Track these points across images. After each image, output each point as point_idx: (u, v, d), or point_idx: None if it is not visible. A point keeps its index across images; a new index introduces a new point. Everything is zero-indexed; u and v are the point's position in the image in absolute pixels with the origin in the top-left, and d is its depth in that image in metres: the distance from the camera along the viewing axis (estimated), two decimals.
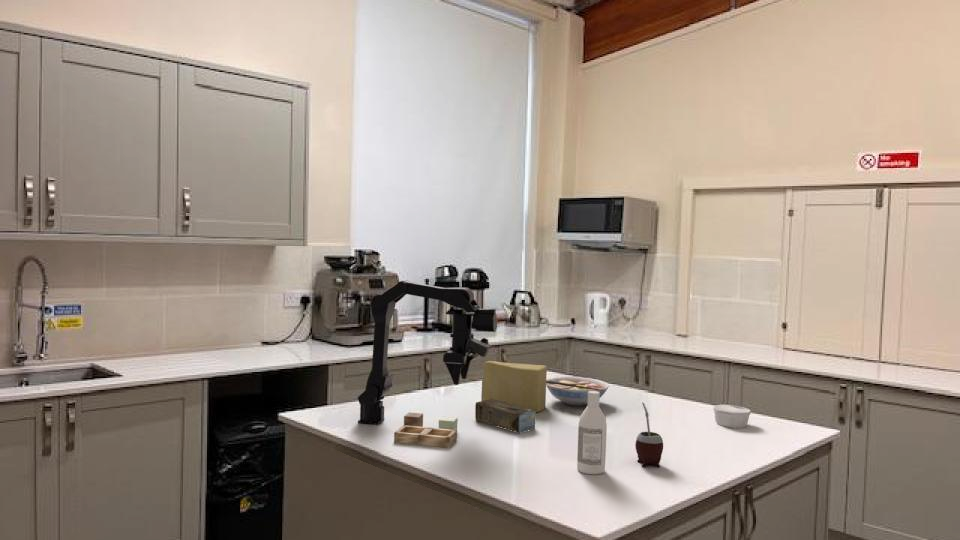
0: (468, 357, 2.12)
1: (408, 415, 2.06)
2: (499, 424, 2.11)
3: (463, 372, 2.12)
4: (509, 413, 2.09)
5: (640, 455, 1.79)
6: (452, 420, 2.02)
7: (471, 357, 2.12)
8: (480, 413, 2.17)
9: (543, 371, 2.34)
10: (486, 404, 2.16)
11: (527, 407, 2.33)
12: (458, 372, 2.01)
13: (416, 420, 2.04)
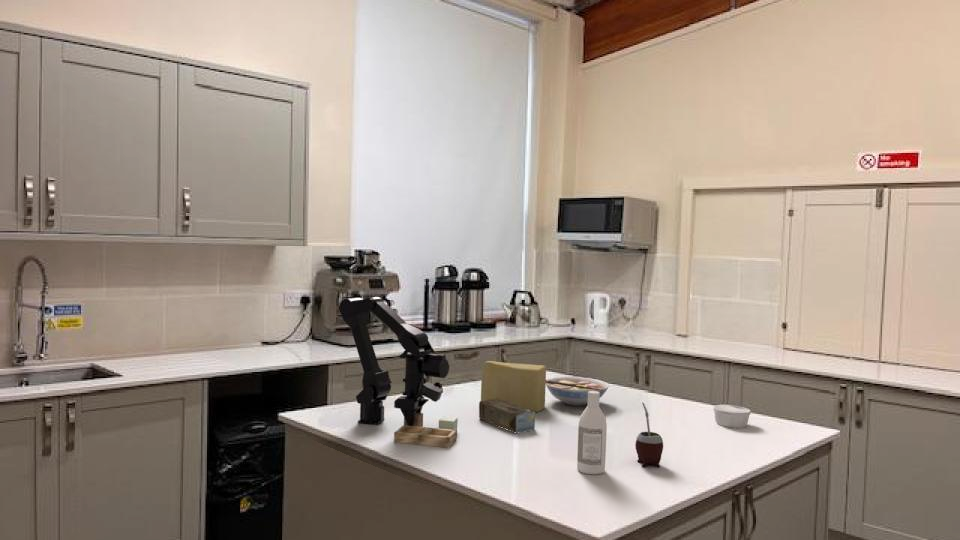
0: (420, 402, 2.09)
1: None
2: (499, 423, 2.12)
3: None
4: (507, 413, 2.09)
5: (640, 455, 1.79)
6: (452, 420, 2.02)
7: (423, 402, 2.09)
8: (483, 412, 2.18)
9: (542, 371, 2.34)
10: (488, 403, 2.18)
11: (526, 407, 2.33)
12: (412, 416, 2.03)
13: (416, 419, 2.04)
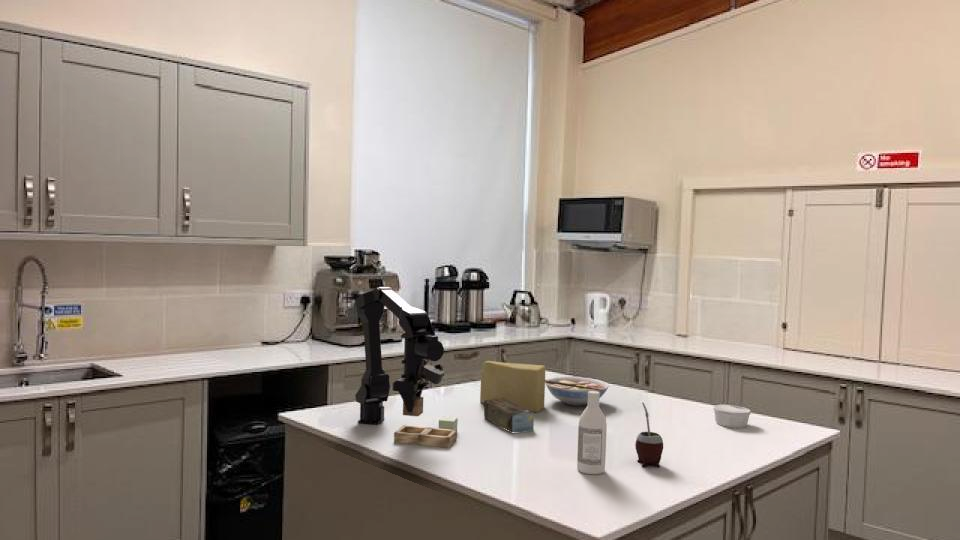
0: (420, 385, 1.99)
1: None
2: (499, 423, 2.13)
3: None
4: (506, 412, 2.09)
5: (640, 455, 1.79)
6: (452, 420, 2.02)
7: (423, 385, 1.98)
8: (487, 411, 2.20)
9: (542, 371, 2.34)
10: (492, 402, 2.19)
11: (526, 407, 2.33)
12: (411, 399, 1.92)
13: (416, 403, 1.94)
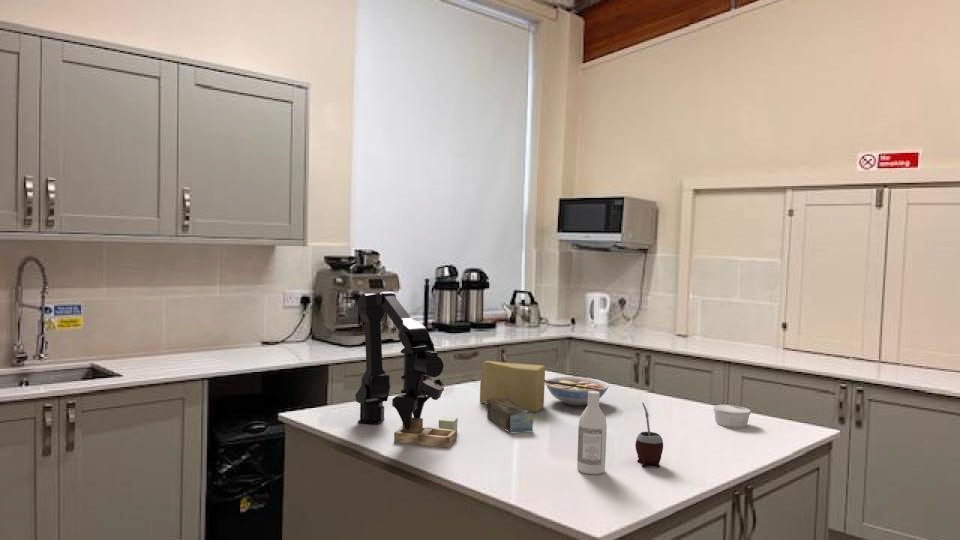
0: (421, 399, 2.01)
1: None
2: (499, 422, 2.13)
3: (416, 415, 2.00)
4: (505, 412, 2.09)
5: (640, 455, 1.79)
6: (452, 420, 2.02)
7: (424, 399, 2.00)
8: (489, 410, 2.21)
9: (541, 371, 2.34)
10: (494, 402, 2.19)
11: (525, 407, 2.33)
12: (409, 416, 1.91)
13: (416, 425, 1.94)
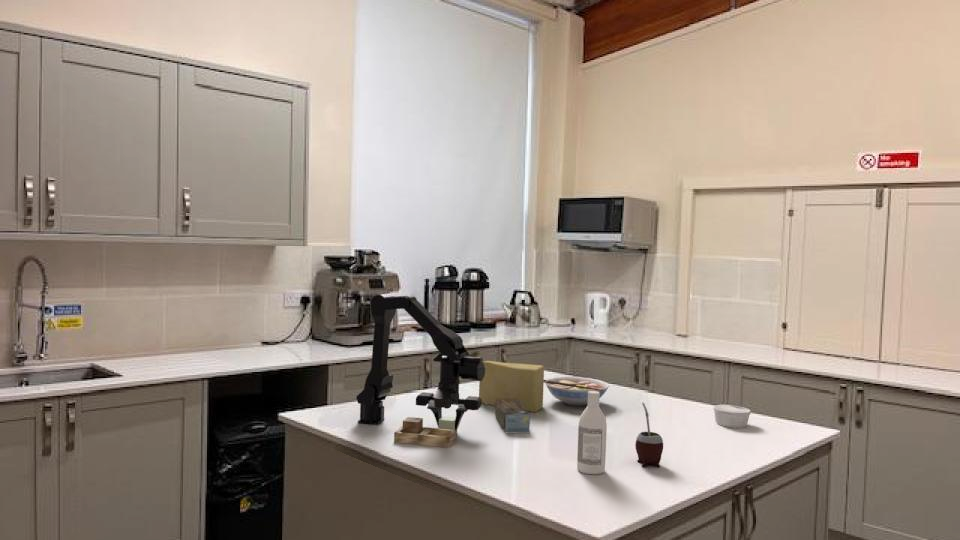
0: None
1: (407, 420, 1.95)
2: (500, 422, 2.14)
3: None
4: (503, 412, 2.10)
5: (640, 455, 1.79)
6: (452, 420, 2.02)
7: None
8: (496, 410, 2.22)
9: (540, 371, 2.34)
10: (500, 401, 2.20)
11: None
12: None
13: (416, 425, 1.94)
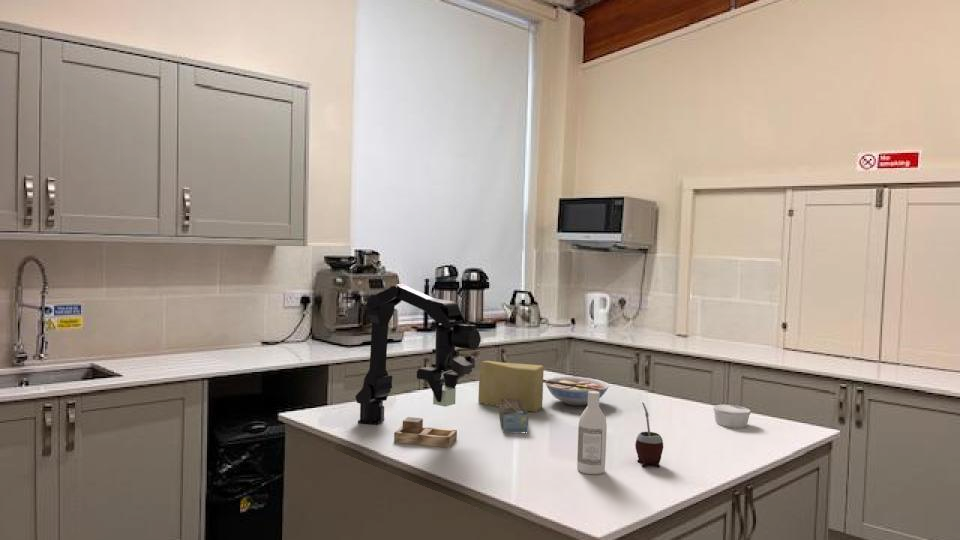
0: (454, 376, 1.99)
1: (407, 420, 1.95)
2: None
3: None
4: (502, 411, 2.10)
5: (640, 455, 1.79)
6: (451, 388, 1.98)
7: (456, 376, 1.98)
8: (499, 409, 2.22)
9: (540, 371, 2.34)
10: (502, 401, 2.21)
11: None
12: (438, 389, 1.94)
13: (416, 425, 1.94)
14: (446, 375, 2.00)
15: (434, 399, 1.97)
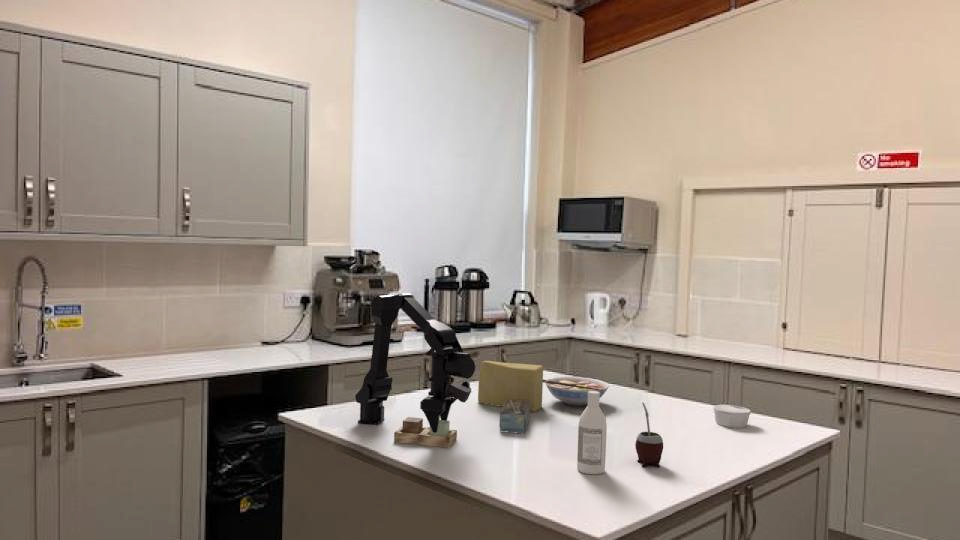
0: (448, 401, 1.99)
1: (407, 420, 1.95)
2: None
3: (443, 417, 1.99)
4: (501, 411, 2.11)
5: (640, 455, 1.79)
6: (445, 421, 1.96)
7: (452, 401, 1.99)
8: None
9: (539, 371, 2.34)
10: (507, 401, 2.21)
11: None
12: (437, 419, 1.89)
13: (416, 425, 1.94)
14: None
15: (430, 434, 1.93)
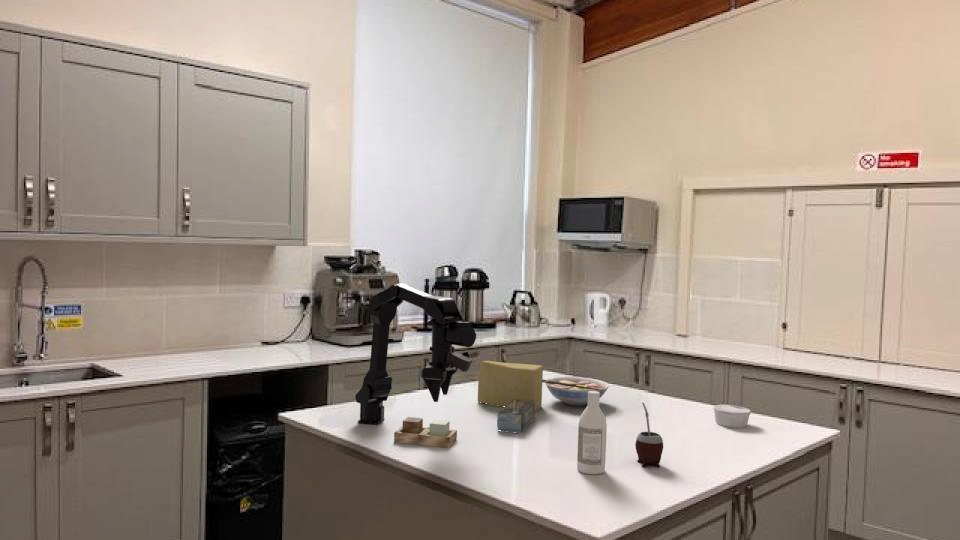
0: (449, 371, 1.99)
1: (407, 420, 1.95)
2: None
3: (444, 387, 1.99)
4: None
5: (640, 455, 1.79)
6: (445, 421, 1.96)
7: (452, 371, 1.98)
8: None
9: (539, 371, 2.34)
10: (511, 401, 2.21)
11: None
12: (437, 388, 1.88)
13: (416, 425, 1.94)
14: None
15: (430, 434, 1.93)
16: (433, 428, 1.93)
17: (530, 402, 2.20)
